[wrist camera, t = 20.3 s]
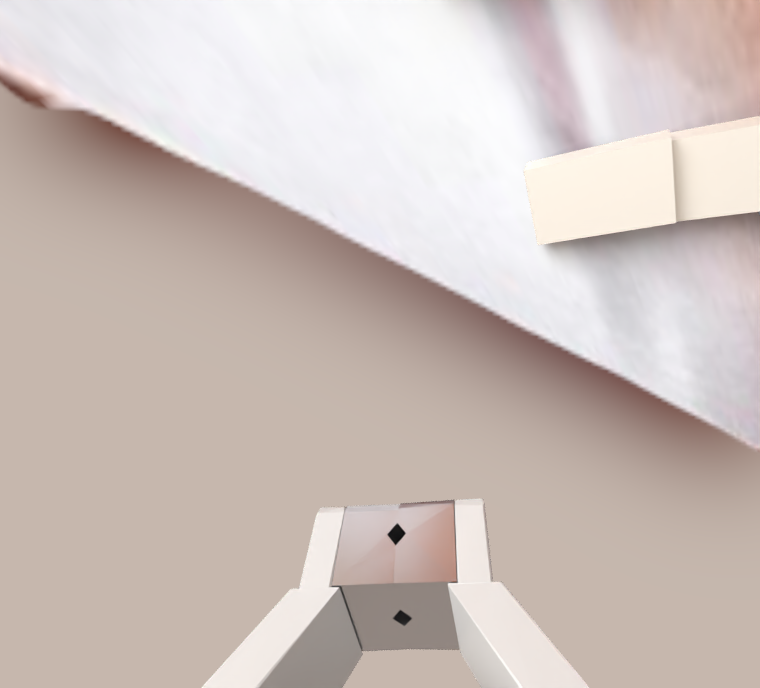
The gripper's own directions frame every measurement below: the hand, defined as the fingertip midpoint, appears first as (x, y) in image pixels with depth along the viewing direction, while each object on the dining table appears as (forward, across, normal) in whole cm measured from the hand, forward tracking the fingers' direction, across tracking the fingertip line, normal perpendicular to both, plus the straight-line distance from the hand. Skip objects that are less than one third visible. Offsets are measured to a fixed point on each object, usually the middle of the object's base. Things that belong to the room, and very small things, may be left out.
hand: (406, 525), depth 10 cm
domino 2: (+28, -13, +3) cm, 31 cm away
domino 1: (+28, -7, +4) cm, 29 cm away
